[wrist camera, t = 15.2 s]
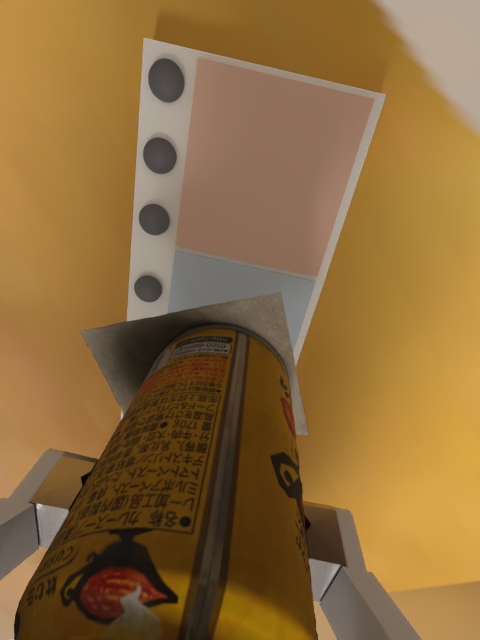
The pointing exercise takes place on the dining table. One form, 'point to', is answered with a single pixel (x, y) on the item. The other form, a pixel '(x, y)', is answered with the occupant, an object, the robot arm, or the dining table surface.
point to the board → (240, 182)
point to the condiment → (187, 490)
